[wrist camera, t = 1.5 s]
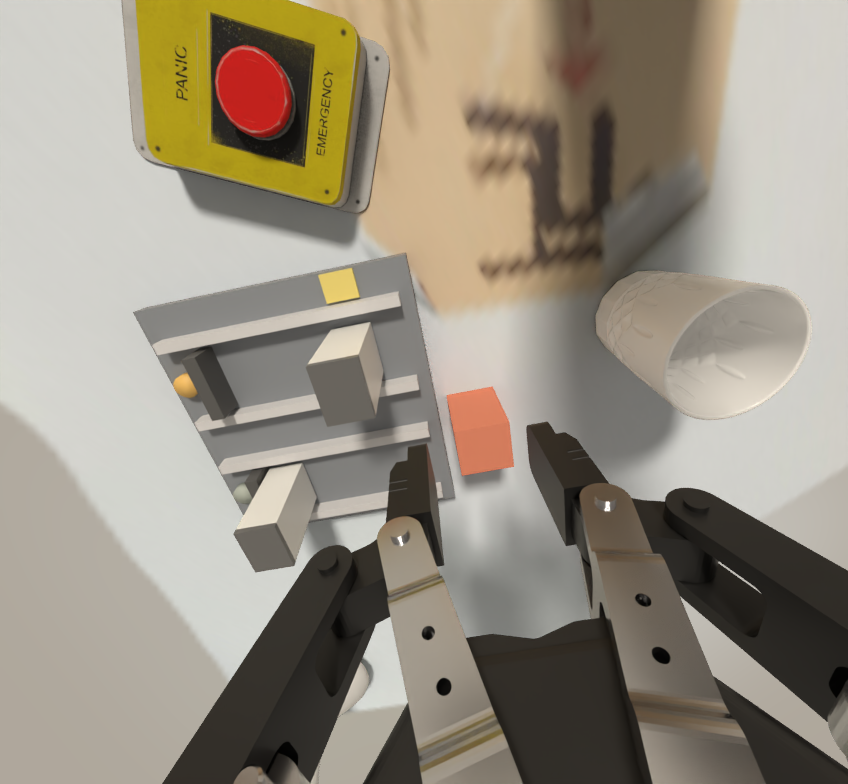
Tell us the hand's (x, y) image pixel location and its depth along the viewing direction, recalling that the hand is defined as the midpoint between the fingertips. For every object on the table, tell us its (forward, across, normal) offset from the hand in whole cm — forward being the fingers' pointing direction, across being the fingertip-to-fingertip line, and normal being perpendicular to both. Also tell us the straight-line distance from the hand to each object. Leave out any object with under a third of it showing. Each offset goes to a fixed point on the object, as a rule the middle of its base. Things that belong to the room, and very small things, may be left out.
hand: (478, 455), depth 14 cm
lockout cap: (+17, -1, +8) cm, 19 cm away
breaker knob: (+16, +16, +11) cm, 25 cm away
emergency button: (+18, +9, -16) cm, 26 cm away
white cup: (+17, -15, +2) cm, 23 cm away
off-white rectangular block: (+16, +7, 0) cm, 17 cm away
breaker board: (+17, +12, +5) cm, 21 cm away
